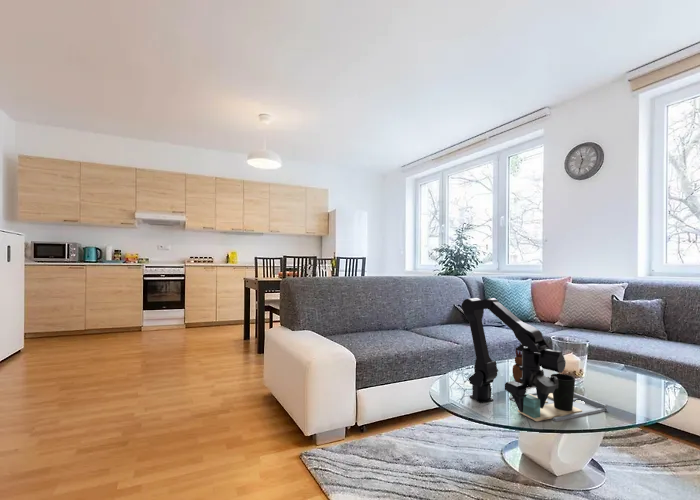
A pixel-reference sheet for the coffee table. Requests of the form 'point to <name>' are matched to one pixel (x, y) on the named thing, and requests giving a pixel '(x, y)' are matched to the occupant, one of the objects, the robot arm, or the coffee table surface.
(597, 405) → the lane board
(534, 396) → the broken strip
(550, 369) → the robot arm
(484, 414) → the coffee table surface
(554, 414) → the teal block on board
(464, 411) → the coffee table surface
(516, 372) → the wooden figurine
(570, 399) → the cup
